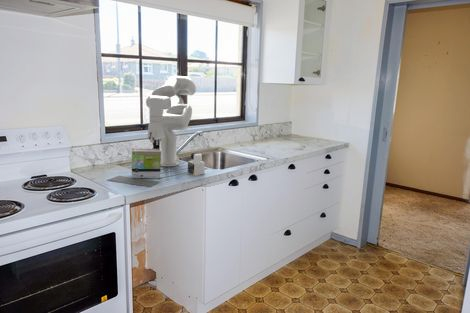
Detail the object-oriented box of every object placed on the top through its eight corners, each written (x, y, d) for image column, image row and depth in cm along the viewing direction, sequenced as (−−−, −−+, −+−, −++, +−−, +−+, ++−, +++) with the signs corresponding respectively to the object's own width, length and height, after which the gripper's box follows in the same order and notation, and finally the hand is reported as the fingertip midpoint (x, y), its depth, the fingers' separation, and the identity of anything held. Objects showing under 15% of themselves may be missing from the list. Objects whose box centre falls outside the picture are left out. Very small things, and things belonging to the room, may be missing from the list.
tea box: (131, 178, 192) (131, 151, 189) (131, 174, 201) (131, 147, 199) (160, 178, 196) (161, 151, 194) (159, 173, 206) (159, 148, 203)
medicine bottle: (187, 173, 210) (187, 152, 208) (198, 171, 215) (198, 151, 212) (193, 175, 205) (194, 155, 202) (204, 174, 209) (205, 153, 206)
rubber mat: (119, 176, 198) (119, 175, 198) (161, 182, 189) (161, 181, 189) (106, 180, 188) (106, 179, 188) (150, 187, 180) (150, 186, 180)
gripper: (157, 117, 210) (157, 148, 214) (142, 119, 197) (143, 153, 200) (169, 118, 208) (168, 150, 212) (154, 120, 194) (154, 154, 198)
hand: (156, 151), depth 206 cm, fingers closed
